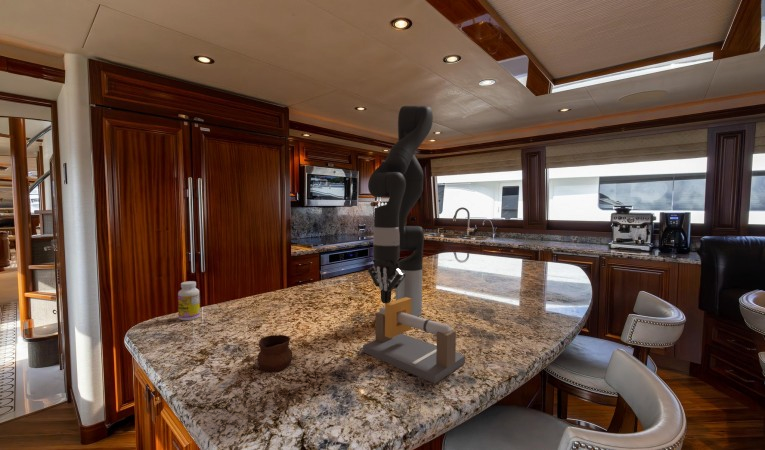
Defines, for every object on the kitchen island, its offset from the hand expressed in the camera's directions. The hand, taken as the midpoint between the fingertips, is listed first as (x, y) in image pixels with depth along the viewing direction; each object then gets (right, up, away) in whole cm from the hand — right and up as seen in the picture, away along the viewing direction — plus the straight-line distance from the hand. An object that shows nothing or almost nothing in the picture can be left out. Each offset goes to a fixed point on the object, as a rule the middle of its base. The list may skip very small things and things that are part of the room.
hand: (385, 302), depth 96 cm
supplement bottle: (-70, -11, +24) cm, 75 cm away
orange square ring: (+3, -8, -3) cm, 9 cm away
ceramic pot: (-29, -14, -10) cm, 33 cm away
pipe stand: (+7, -14, -6) cm, 16 cm away
